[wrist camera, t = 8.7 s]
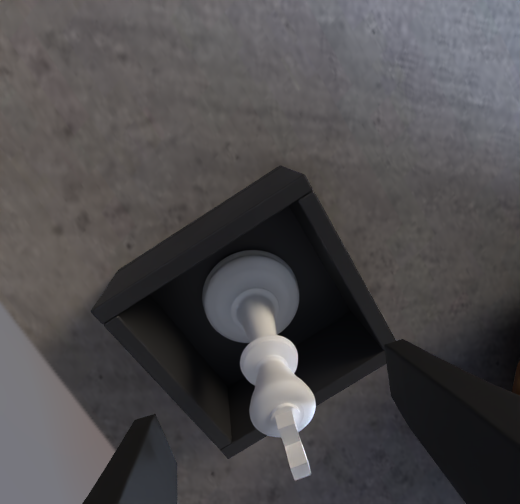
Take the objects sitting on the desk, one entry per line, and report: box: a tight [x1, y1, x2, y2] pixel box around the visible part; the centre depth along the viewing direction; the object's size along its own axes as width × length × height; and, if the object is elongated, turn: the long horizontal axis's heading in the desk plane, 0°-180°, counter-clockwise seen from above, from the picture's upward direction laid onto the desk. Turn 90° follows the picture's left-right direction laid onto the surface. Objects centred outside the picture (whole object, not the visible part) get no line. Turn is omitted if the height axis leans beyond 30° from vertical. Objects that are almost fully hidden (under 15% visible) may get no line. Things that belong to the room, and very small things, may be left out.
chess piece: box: [202, 250, 316, 480], centre depth 13 cm, size 5×5×10 cm
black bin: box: [91, 166, 396, 459], centre depth 16 cm, size 9×9×4 cm
